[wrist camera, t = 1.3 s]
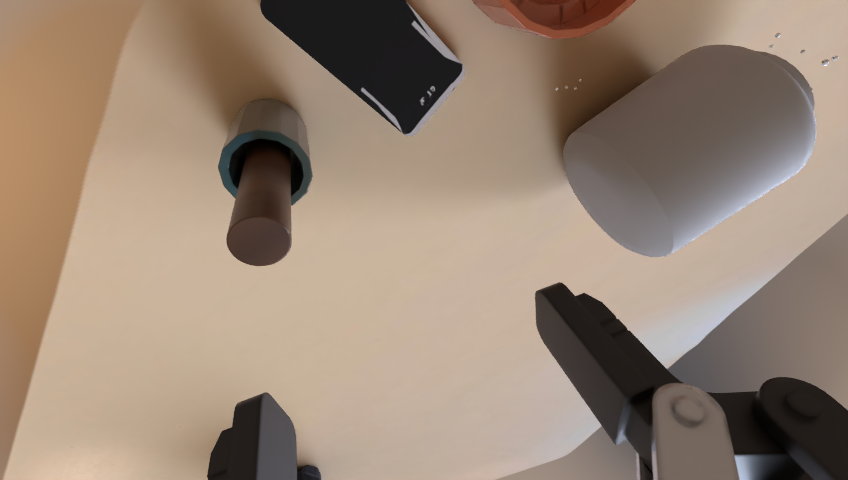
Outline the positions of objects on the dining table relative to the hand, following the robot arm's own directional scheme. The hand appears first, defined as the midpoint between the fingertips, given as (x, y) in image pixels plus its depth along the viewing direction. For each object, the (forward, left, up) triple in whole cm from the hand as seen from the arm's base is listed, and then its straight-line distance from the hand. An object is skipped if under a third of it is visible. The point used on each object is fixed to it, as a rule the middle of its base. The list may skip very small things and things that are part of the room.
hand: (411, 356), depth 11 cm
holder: (-2, -5, -27) cm, 27 cm away
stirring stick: (-2, -5, -26) cm, 27 cm away
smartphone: (-2, +6, -27) cm, 28 cm away
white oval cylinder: (+21, +26, -27) cm, 43 cm away
